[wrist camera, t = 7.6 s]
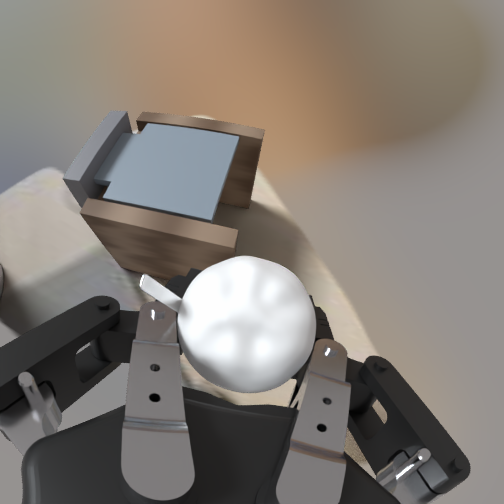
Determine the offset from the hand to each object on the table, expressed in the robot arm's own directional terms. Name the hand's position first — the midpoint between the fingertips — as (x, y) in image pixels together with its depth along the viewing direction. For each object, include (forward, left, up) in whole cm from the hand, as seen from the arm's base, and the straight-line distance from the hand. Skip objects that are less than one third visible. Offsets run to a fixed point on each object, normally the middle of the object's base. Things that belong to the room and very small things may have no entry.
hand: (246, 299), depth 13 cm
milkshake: (0, -2, -4) cm, 5 cm away
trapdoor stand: (-8, +11, -17) cm, 22 cm away
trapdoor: (-10, +11, -9) cm, 18 cm away
